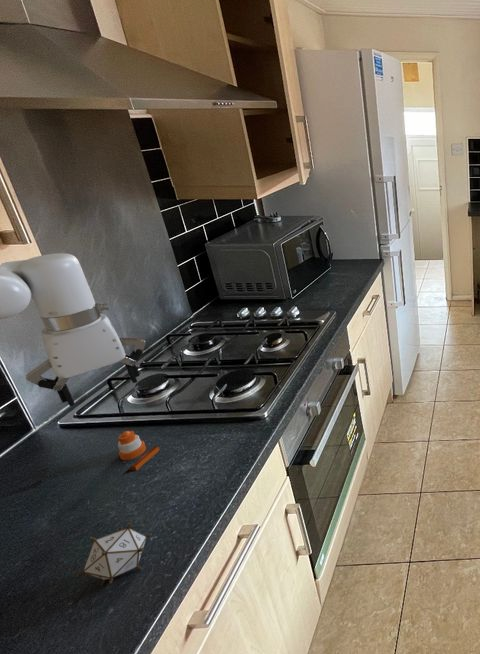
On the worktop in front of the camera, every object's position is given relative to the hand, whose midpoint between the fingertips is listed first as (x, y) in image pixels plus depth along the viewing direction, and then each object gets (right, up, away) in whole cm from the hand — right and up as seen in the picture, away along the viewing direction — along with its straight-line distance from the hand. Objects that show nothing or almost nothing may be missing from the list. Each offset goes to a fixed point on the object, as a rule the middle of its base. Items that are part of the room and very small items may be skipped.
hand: (104, 391), depth 86 cm
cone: (-1, -18, +9) cm, 20 cm away
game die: (+17, -27, -14) cm, 35 cm away
